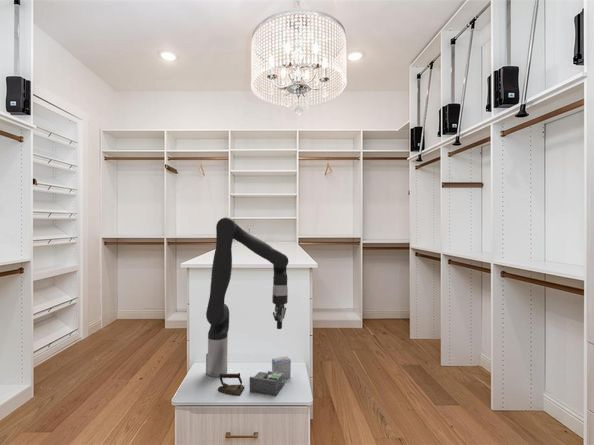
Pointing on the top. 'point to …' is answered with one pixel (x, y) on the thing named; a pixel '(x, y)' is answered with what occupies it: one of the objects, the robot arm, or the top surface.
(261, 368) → the top surface
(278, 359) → the medicine box
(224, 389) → the clothes iron
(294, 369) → the top surface
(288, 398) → the top surface
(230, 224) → the robot arm
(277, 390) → the box
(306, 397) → the top surface
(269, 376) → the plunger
